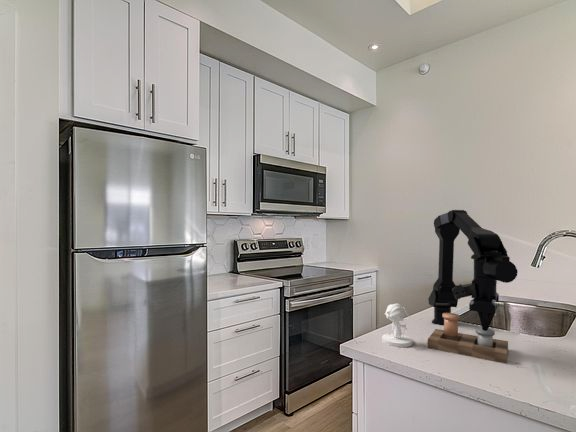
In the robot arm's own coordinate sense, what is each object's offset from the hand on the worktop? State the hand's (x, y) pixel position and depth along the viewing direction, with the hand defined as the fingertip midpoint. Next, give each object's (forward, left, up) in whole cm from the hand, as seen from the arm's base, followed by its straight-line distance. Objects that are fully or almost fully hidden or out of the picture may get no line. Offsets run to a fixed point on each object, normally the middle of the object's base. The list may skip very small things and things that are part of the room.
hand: (484, 330), depth 99 cm
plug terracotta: (0, -9, -3) cm, 9 cm away
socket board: (0, -4, -6) cm, 8 cm away
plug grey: (0, 0, -6) cm, 6 cm away
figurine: (+6, -23, -6) cm, 25 cm away
